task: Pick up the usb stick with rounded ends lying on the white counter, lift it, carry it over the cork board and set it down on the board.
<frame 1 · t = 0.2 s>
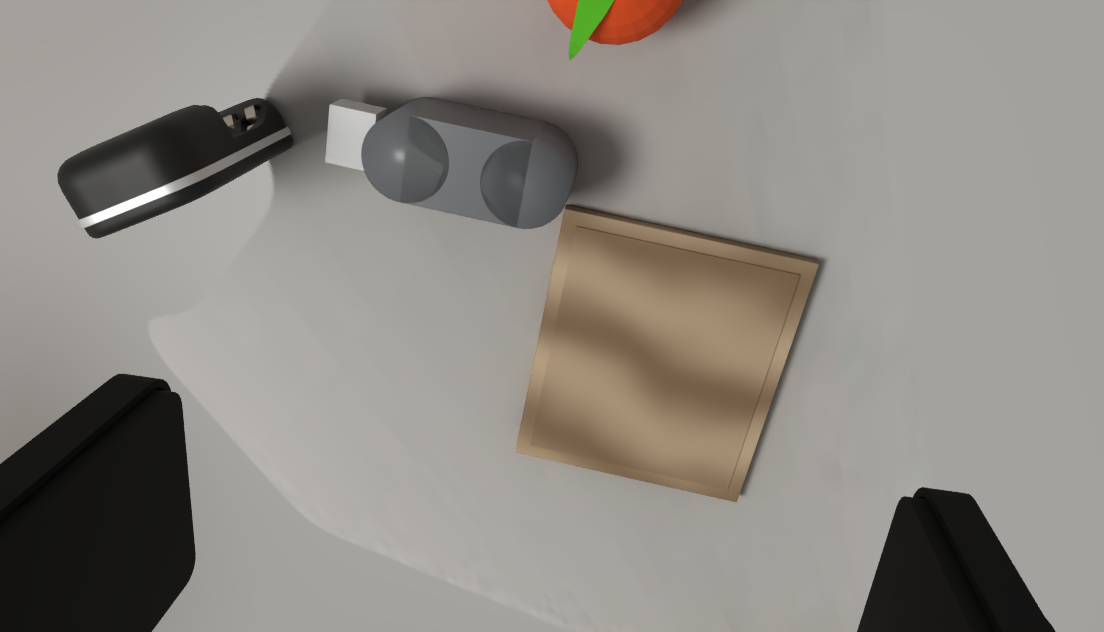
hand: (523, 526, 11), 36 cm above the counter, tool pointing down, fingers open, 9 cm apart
usb stick: (483, 150, 46), on the counter
battery charger: (234, 131, 47), on the counter
board: (656, 358, 49), on the counter
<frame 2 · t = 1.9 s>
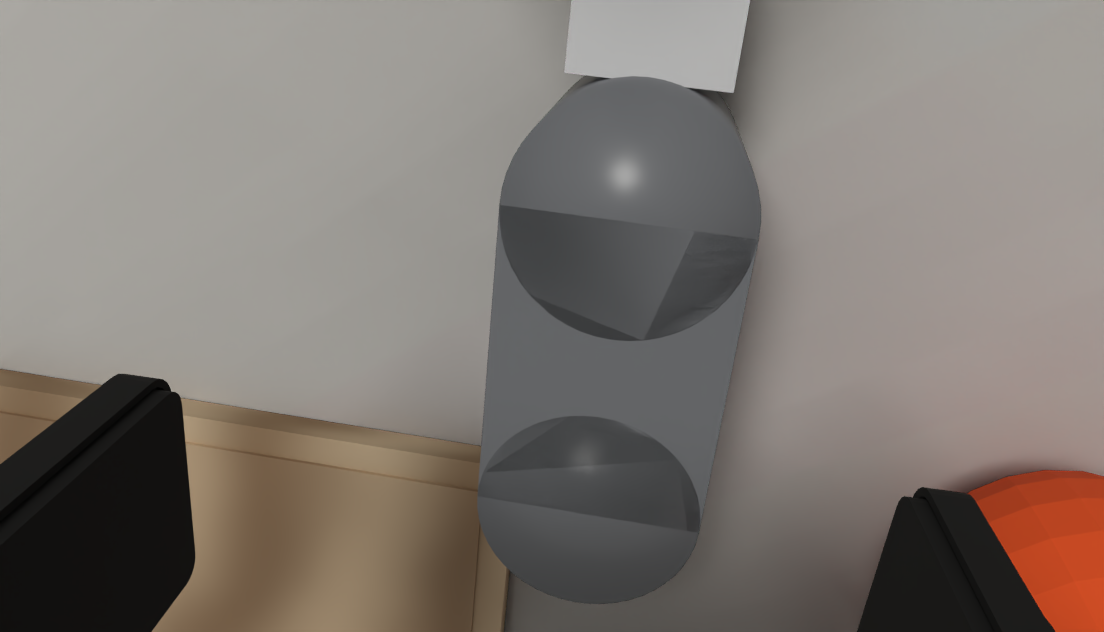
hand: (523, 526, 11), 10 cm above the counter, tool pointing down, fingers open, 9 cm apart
usb stick: (622, 285, 20), on the counter
clementine: (990, 522, 21), on the counter
board: (242, 607, 25), on the counter
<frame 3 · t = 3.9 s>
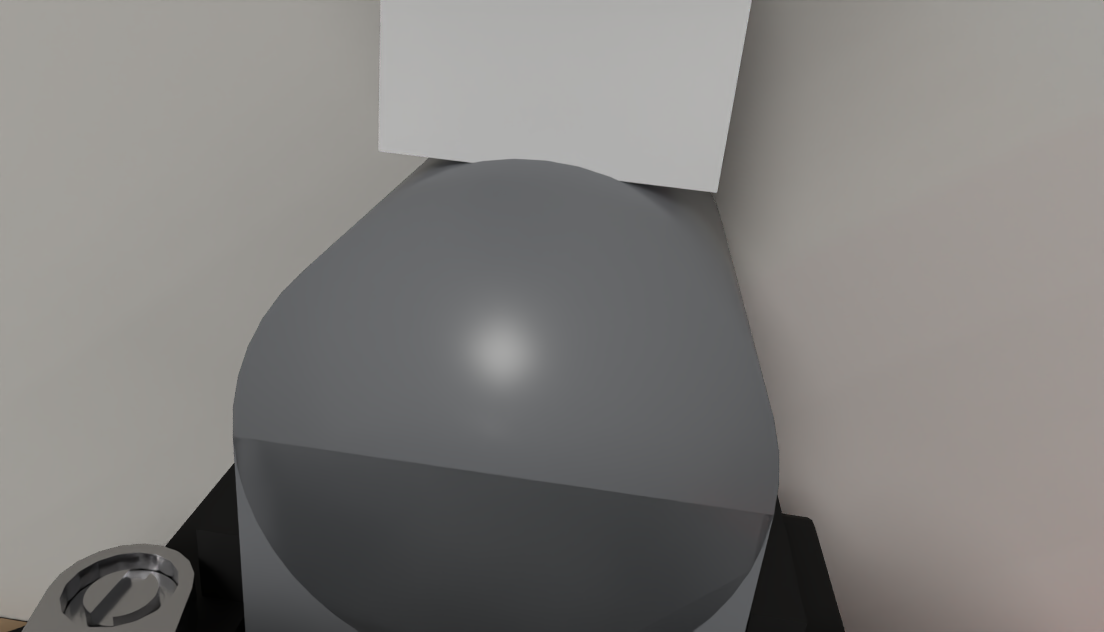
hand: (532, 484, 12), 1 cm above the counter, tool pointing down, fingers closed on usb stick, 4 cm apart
usb stick: (539, 454, 13), on the counter, touching gripper
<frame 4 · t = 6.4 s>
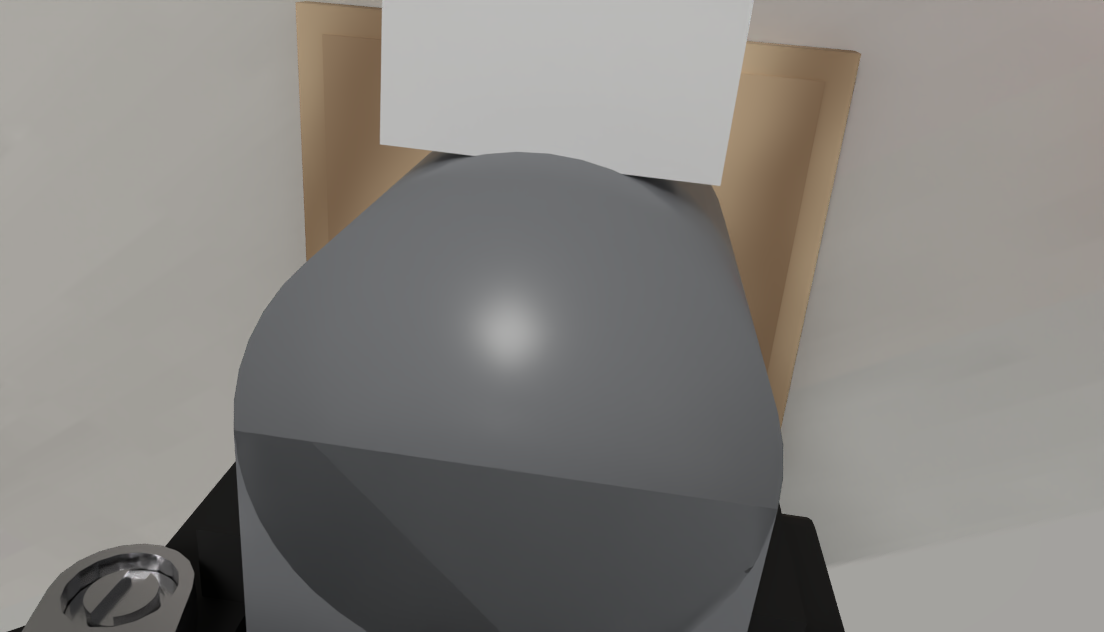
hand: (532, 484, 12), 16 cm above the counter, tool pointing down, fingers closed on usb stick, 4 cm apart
usb stick: (541, 451, 12), point 15 cm above the counter, touching gripper
board: (554, 253, 27), on the counter
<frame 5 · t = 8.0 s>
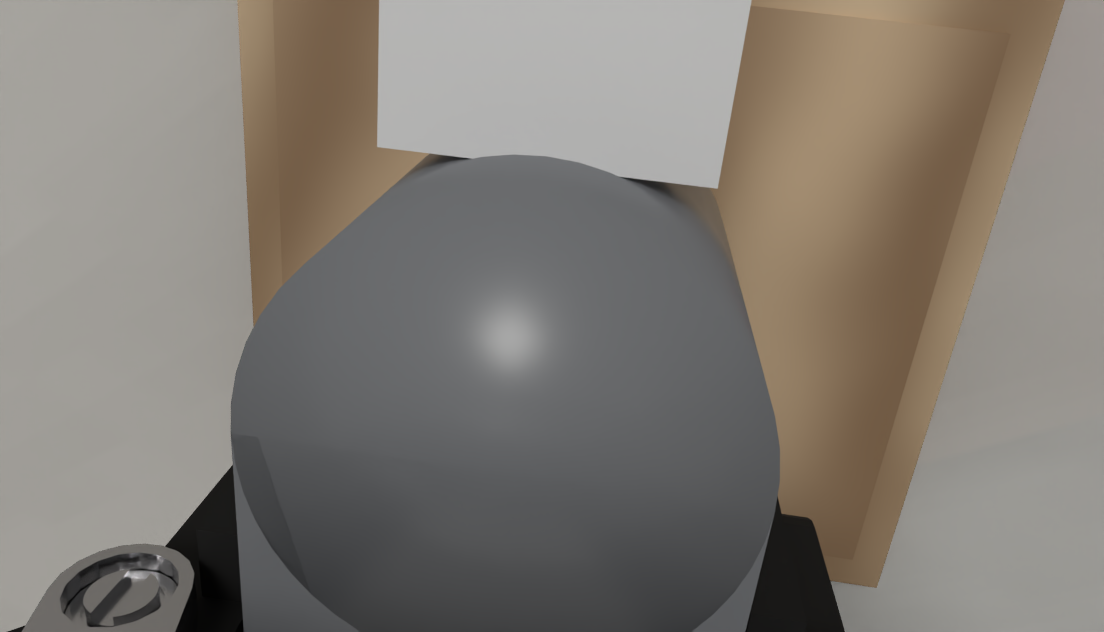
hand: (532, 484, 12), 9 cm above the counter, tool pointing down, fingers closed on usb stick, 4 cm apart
usb stick: (539, 452, 12), point 8 cm above the counter, touching gripper
board: (595, 274, 20), on the counter
when the fingers open (3 cm above the counter, at t = 9.4 s): usb stick stays where it is, resting on board.
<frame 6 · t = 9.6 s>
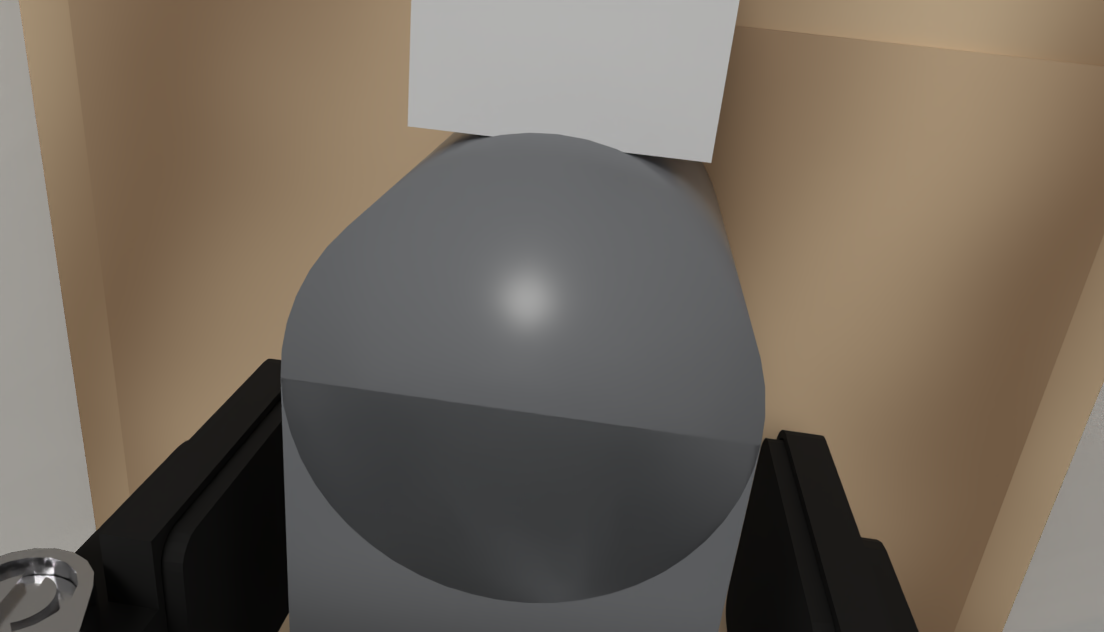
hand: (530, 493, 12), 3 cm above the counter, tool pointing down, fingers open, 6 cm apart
usb stick: (547, 420, 13), point 1 cm above the counter, touching board
board: (552, 395, 14), on the counter
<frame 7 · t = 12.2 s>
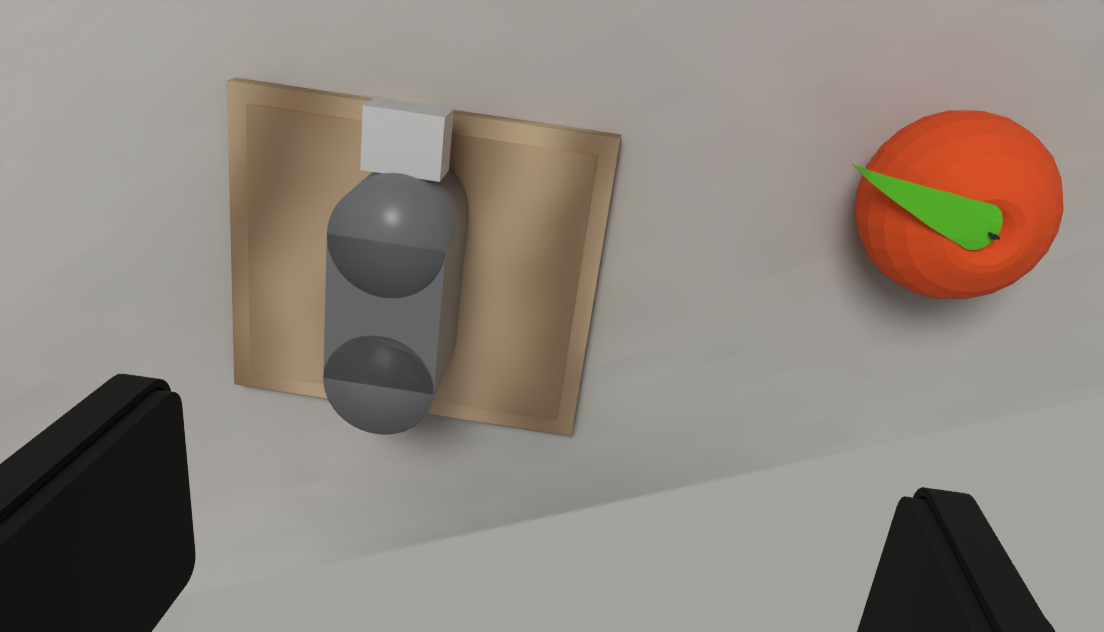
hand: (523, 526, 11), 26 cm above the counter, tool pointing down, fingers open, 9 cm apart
usb stick: (411, 271, 36), point 1 cm above the counter, touching board
clementine: (910, 176, 34), on the counter
board: (415, 265, 37), on the counter
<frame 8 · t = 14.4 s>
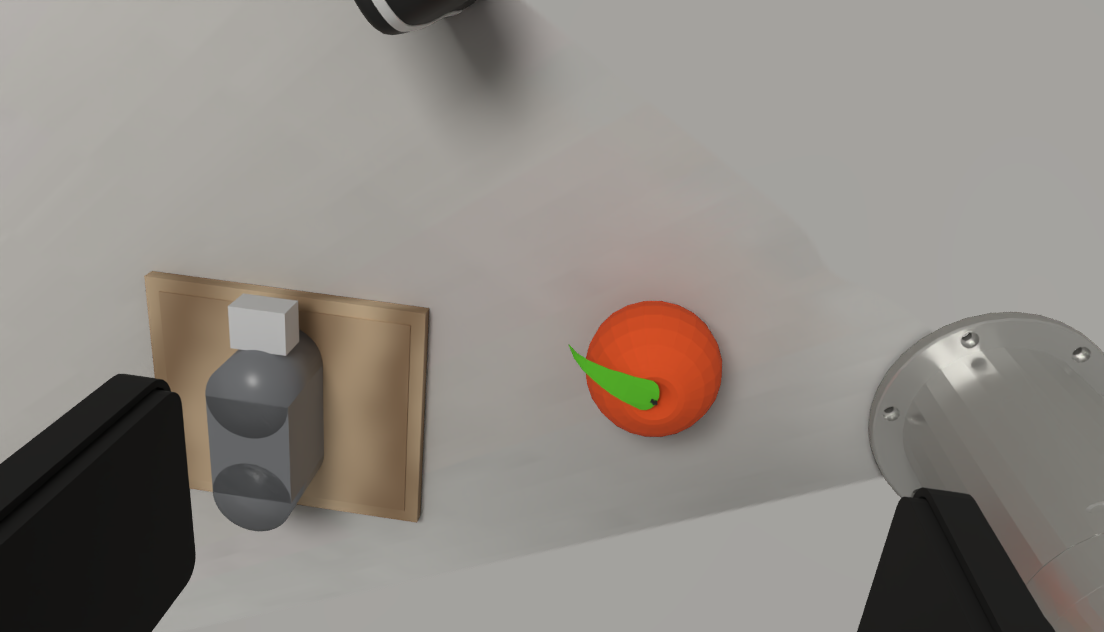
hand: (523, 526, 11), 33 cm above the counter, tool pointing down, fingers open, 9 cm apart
usb stick: (286, 405, 49), point 1 cm above the counter, touching board
clementine: (644, 335, 46), on the counter
board: (292, 398, 50), on the counter
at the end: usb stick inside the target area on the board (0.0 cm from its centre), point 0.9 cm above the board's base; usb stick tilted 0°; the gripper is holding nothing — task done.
